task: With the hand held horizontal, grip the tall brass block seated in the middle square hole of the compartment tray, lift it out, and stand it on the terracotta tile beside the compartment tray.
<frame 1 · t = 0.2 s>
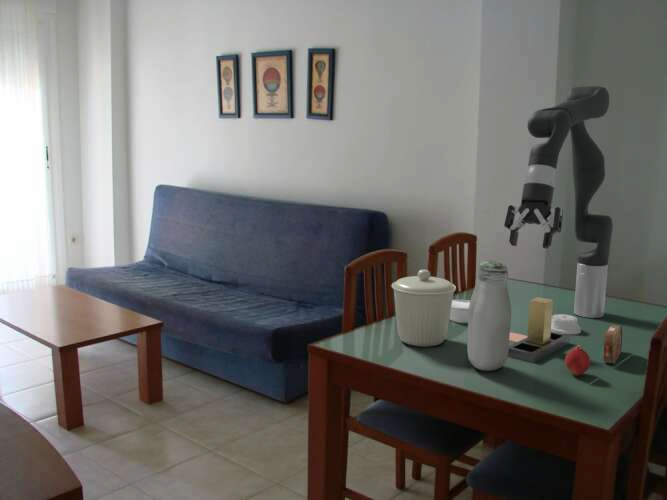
hand: (528, 246, 164), 30 cm above the table, tool tilted 20°, fingers open, 8 cm apart
tin: (611, 359, 171), on the table
ramekin: (463, 320, 206), on the table
tile: (516, 338, 187), on the table
pomegranate: (576, 376, 159), on the table
canister: (421, 342, 184), on the table
glass bottle: (486, 369, 163), on the table
brass block: (538, 349, 177), resting on compartment tray
compartment tray: (538, 350, 177), on the table
mechanical component: (563, 331, 195), on the table
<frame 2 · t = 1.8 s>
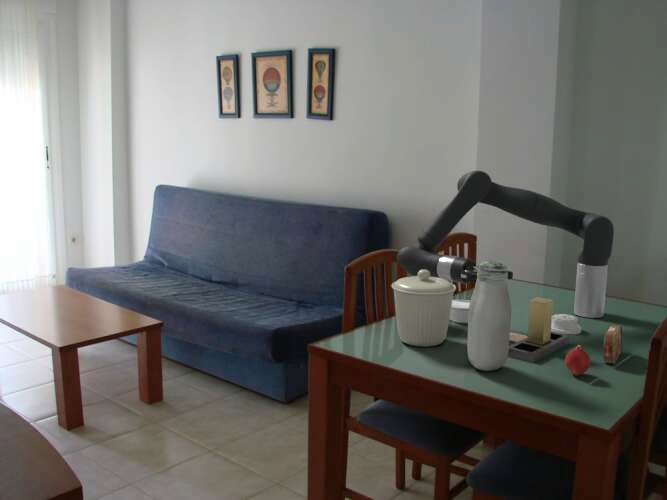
hand: (504, 277, 181), 19 cm above the table, tool horizontal, fingers open, 8 cm apart
nothing on the table moved.
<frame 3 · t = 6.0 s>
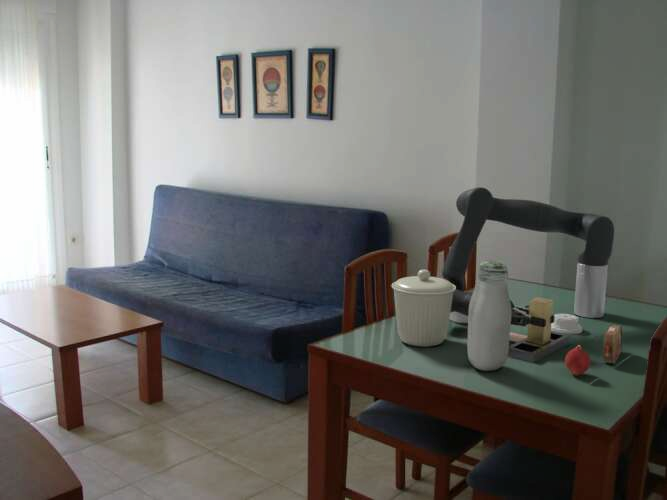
hand: (549, 321, 174), 9 cm above the table, tool horizontal, fingers closed on brass block, 4 cm apart
brass block: (538, 349, 177), resting on compartment tray, touching gripper
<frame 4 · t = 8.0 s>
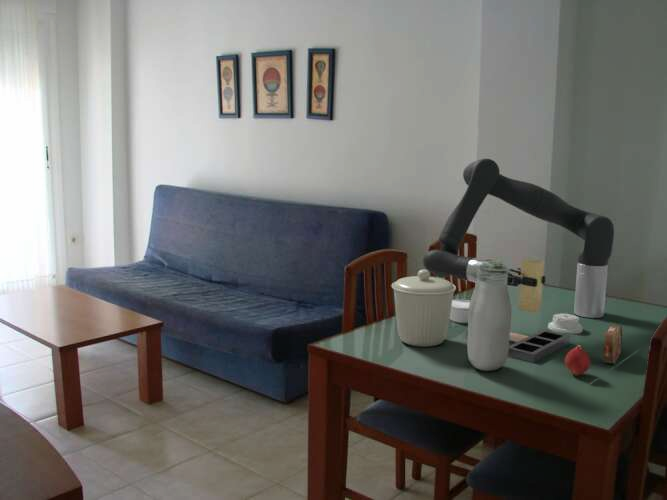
hand: (540, 281, 177), 19 cm above the table, tool horizontal, fingers closed on brass block, 4 cm apart
brass block: (529, 309, 180), point 10 cm above the table, touching gripper
when the fingers open (10 cm above the table, at t = 10.5 s): brass block stays where it is, resting on tile.
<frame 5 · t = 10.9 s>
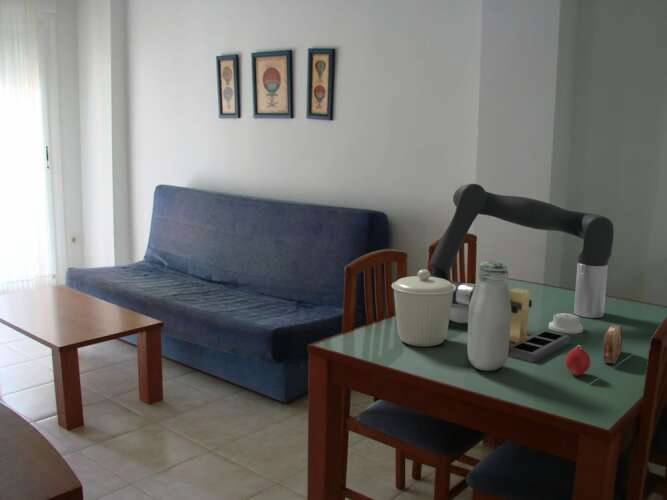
hand: (524, 306, 184), 10 cm above the table, tool horizontal, fingers open, 8 cm apart
brass block: (516, 337, 187), resting on tile
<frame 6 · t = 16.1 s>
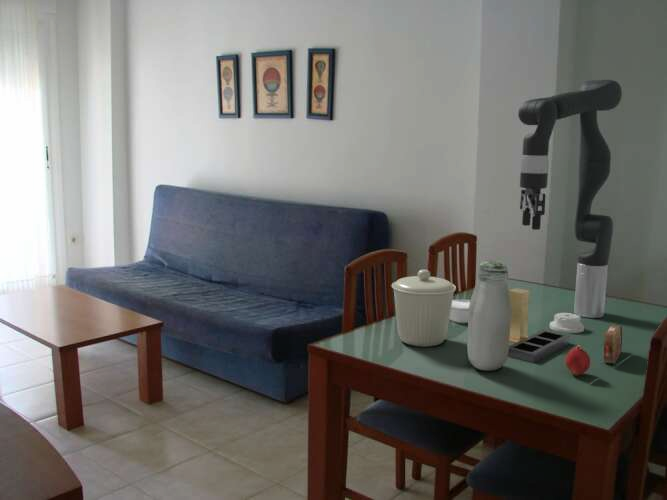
hand: (530, 227, 186), 32 cm above the table, tool pointing down, fingers open, 8 cm apart
at the end: brass block inside the target area on the tile (0.1 cm from its centre), point 0.4 cm above the tile's base; brass block tilted 0°; the gripper is holding nothing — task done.
